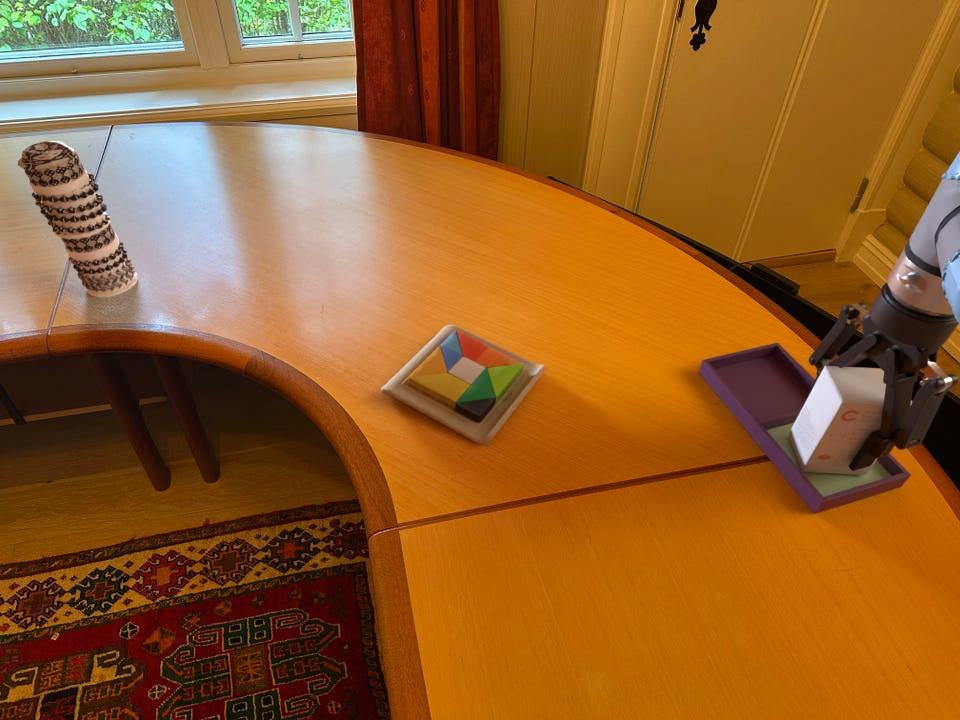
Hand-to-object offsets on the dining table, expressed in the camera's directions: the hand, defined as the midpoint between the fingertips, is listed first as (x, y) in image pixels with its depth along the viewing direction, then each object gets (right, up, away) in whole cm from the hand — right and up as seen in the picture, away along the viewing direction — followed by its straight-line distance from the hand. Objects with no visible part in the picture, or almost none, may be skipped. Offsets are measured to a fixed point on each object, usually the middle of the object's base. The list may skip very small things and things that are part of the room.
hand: (834, 439), depth 77 cm
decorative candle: (-111, +24, +32) cm, 117 cm away
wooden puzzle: (-47, +6, +13) cm, 49 cm away
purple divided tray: (-2, +1, +7) cm, 8 cm away
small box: (0, -2, +2) cm, 3 cm away
